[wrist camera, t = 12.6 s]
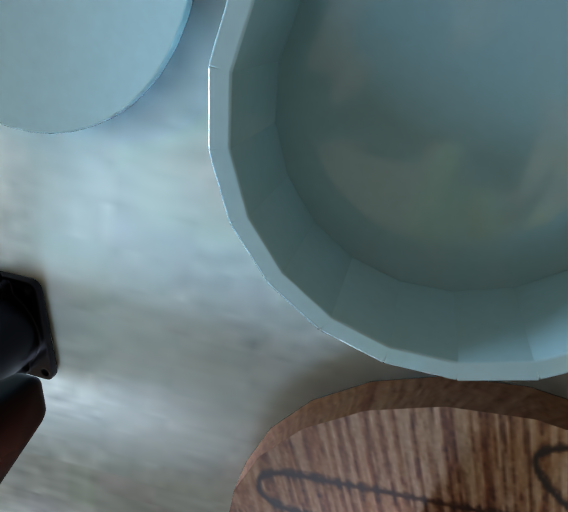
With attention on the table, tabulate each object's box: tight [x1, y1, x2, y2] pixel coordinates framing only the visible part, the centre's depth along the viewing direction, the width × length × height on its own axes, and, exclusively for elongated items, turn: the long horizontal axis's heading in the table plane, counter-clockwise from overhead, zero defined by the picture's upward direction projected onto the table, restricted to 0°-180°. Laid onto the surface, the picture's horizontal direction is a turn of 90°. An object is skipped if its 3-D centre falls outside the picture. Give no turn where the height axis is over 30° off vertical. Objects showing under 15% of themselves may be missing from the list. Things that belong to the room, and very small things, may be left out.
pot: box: [208, 0, 568, 381], centre depth 14 cm, size 14×14×5 cm
